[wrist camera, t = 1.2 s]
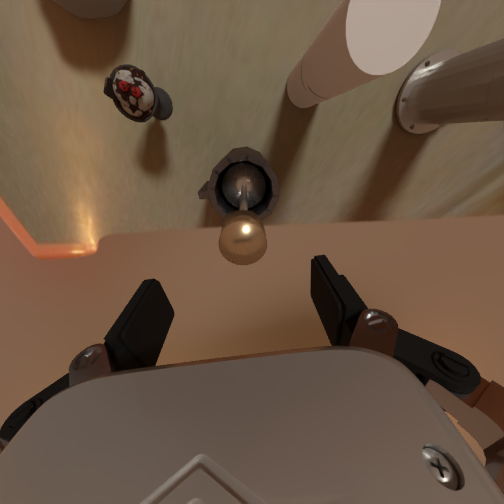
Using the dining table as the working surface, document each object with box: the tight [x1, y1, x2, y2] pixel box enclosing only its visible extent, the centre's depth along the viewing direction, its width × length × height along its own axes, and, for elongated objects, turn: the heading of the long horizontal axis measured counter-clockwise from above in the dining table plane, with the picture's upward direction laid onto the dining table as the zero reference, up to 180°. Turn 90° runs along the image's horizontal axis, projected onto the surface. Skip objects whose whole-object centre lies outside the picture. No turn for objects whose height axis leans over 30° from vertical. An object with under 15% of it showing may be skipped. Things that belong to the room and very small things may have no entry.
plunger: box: [219, 163, 267, 265], centre depth 25 cm, size 8×8×21 cm
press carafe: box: [198, 147, 279, 220], centre depth 37 cm, size 13×11×16 cm
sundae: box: [104, 65, 172, 122], centre depth 31 cm, size 7×7×15 cm
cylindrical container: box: [287, 0, 441, 108], centre depth 26 cm, size 7×7×25 cm
